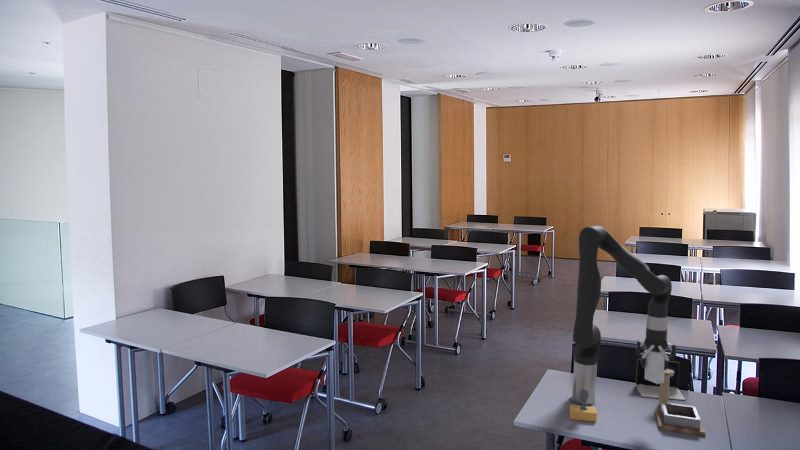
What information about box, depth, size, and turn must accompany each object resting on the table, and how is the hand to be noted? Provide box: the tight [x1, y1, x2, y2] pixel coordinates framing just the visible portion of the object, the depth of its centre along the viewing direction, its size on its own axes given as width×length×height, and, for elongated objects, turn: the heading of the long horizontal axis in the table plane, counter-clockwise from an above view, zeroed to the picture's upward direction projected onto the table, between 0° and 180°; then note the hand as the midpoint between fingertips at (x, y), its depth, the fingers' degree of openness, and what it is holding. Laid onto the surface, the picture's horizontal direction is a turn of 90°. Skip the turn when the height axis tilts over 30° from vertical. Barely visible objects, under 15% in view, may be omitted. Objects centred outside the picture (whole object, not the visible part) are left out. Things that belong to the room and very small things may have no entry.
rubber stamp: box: [568, 389, 598, 422], centre depth 230 cm, size 10×6×12 cm, turn 78°
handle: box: [658, 369, 674, 406], centre depth 243 cm, size 5×6×15 cm
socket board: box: [654, 402, 707, 437], centre depth 226 cm, size 16×15×6 cm
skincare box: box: [645, 348, 665, 384], centre depth 224 cm, size 6×4×12 cm
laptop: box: [635, 358, 687, 401], centre depth 255 cm, size 18×12×13 cm
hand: (654, 368), depth 225 cm, fingers closed on skincare box, 7 cm apart
